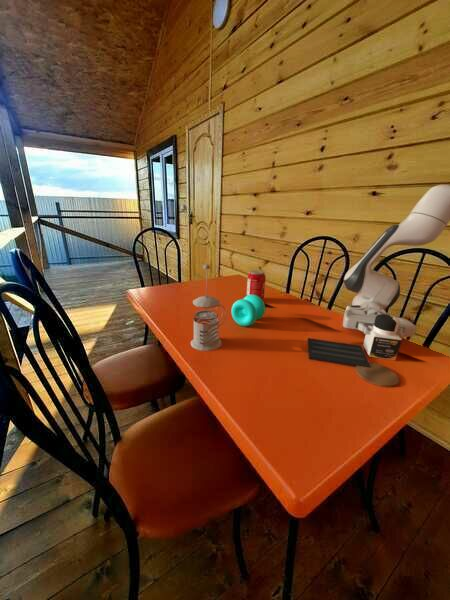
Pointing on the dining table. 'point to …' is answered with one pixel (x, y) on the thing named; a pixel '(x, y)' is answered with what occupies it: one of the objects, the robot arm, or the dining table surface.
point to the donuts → (248, 310)
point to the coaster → (378, 375)
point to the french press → (206, 338)
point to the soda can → (256, 283)
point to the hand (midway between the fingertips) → (383, 334)
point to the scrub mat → (337, 353)
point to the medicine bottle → (383, 338)
